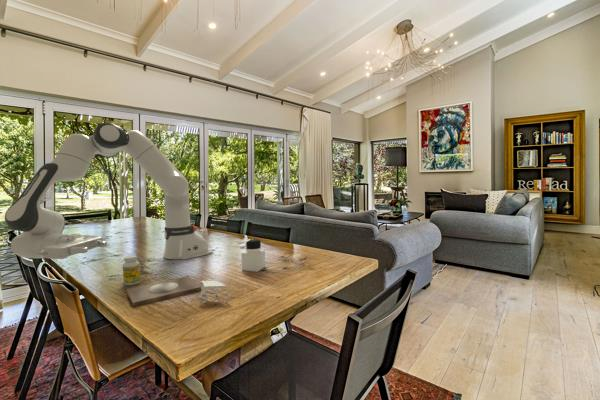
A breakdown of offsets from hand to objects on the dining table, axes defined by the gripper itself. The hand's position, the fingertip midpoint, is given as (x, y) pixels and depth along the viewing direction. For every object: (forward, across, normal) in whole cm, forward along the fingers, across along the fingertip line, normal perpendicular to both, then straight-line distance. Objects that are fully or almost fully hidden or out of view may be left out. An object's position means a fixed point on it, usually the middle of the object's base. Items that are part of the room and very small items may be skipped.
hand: (96, 247), depth 109 cm
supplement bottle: (+13, 0, +13) cm, 18 cm away
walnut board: (+28, -7, +13) cm, 32 cm away
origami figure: (+48, -13, +13) cm, 51 cm away
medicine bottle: (+53, +18, +12) cm, 57 cm away
